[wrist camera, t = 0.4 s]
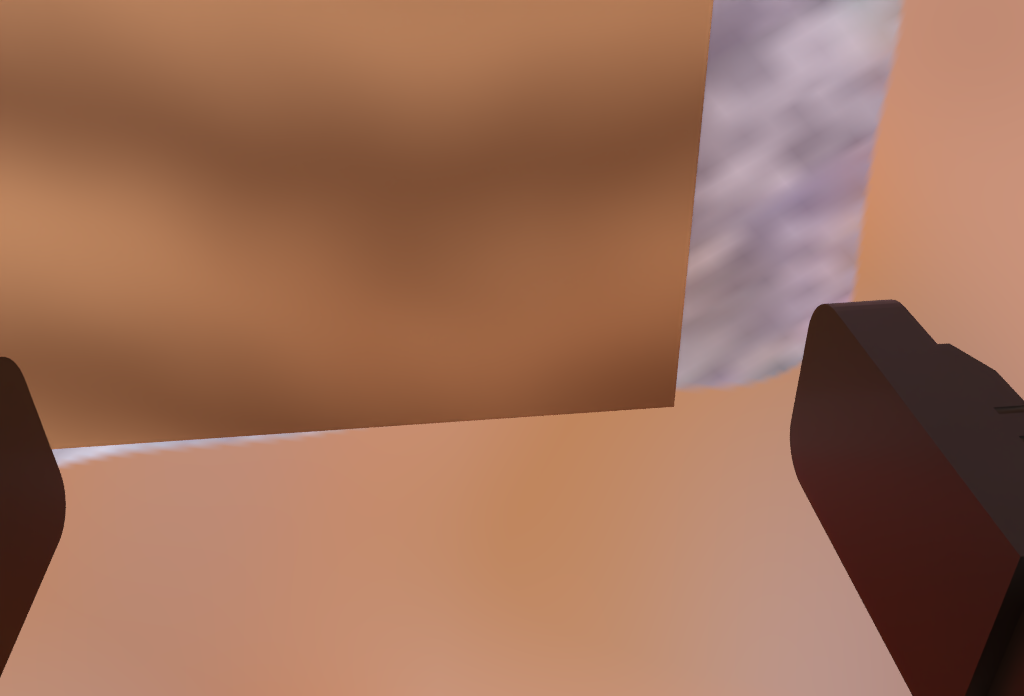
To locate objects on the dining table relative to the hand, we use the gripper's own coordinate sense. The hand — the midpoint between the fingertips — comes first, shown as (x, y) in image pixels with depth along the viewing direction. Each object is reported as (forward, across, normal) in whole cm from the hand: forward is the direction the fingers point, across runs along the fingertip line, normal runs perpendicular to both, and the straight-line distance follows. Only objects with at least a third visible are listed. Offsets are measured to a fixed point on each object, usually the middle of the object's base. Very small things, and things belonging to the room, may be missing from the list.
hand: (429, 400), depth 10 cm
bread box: (+26, +2, +1) cm, 26 cm away
